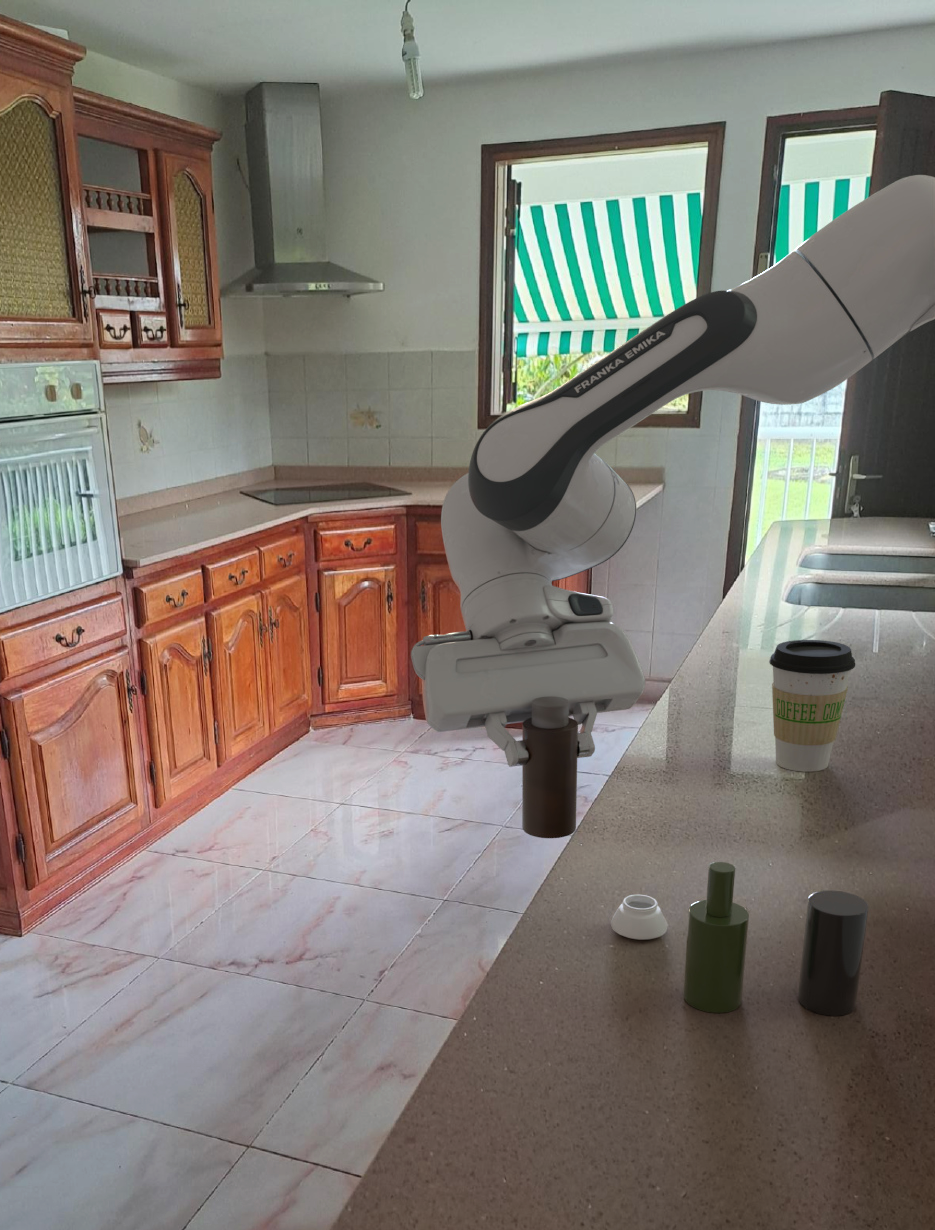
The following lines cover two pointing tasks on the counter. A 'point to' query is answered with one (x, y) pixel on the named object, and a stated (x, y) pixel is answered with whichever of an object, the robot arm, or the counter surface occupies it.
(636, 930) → the white jar
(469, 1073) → the counter surface
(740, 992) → the oil cruet
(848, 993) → the dark grey cylinder
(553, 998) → the counter surface
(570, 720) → the pepper mill
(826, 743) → the coffee cup
